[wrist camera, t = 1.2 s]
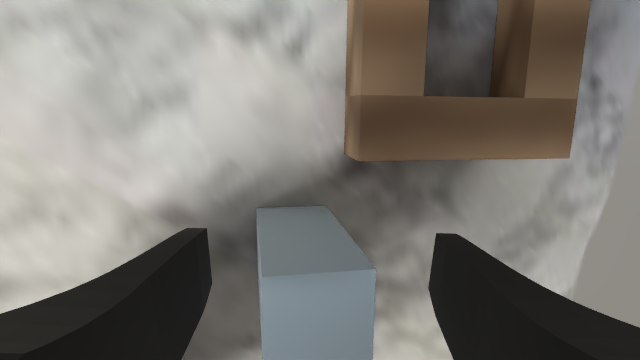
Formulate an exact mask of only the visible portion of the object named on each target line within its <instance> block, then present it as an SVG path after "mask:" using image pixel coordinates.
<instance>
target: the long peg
mask: <svg viewBox="0 0 640 360" xmlns="http://www.w3.org/2000/svg"><path fill="white" fill-rule="evenodd" d="M256 223H257V273H258V291H259V308H260V325H261V342H262V359H263V360H372V359H373V335H374V311H375V288H376V268H375V267H374V266H373V264H372V263H371V262H370V261H369V259H368V258H367V257H366V256H365V254H364V253H363V252H362V250H361V249H360V248H359V247H358V245H357V244H356V243H355V242H354V240H353V239H352V238H351V236H350V235H349V234H348V233H347V231H346V230H345V229H344V228H343V226H342V225H341V224H340V223H339V221H338V220H337V219H336V217H335V216H334V215H333V214H332V212H331V211H330V210H329V209H328V207H327V206H297V207H269V208H256Z"/></svg>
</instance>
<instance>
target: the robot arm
mask: <svg viewBox="0 0 640 360" xmlns="http://www.w3.org/2000/svg"><path fill="white" fill-rule="evenodd" d="M211 285H212V277H211V267H210V257H209V247H208V237H207V228H186V229H184V230H182V231H180V232H178V233H177V234H175V235H173V236H171V237H170V238H168V239H166V240H165V241H163V242H161V243H160V244H158V245H156V246H155V247H153V248H151V249H150V250H148V251H146V252H144V253H143V254H141V255H139V256H138V257H136V258H134V259H132V260H130V261H128V262H127V263H125V264H123V265H121V266H119V267H117V268H115V269H114V270H112V271H110V272H108V273H106V274H104V275H102V276H100V277H98V278H95V279H93V280H91V281H89V282H87V283H84V284H82V285H80V286H77V287H75V288H73V289H70V290H68V291H65V292H63V293H60V294H57V295H54V296H52V297H49V298H46V299H44V300H41V301H38V302H35V303H33V304H30V305H27V306H24V307H21V308H18V309H14V310H11V311H8V312H5V313H2V314H0V360H181V359H182V357H183V355H184V353H185V350H186V348H187V346H188V344H189V342H190V340H191V338H192V336H193V333H194V331H195V329H196V327H197V325H198V323H199V320H200V318H201V316H202V314H203V311H204V309H205V305H206V302H207V299H208V296H209V292H210V289H211ZM429 292H430V296H431V301H432V304H433V308H434V312H435V315H436V318H437V321H438V323H439V326H440V328H441V330H442V333H443V335H444V338H445V340H446V343H447V345H448V347H449V350H450V352H451V354H452V357H453V359H454V360H640V328H639V327H636V326H633V325H631V324H628V323H625V322H622V321H620V320H617V319H614V318H612V317H609V316H607V315H604V314H602V313H599V312H597V311H594V310H592V309H589V308H587V307H585V306H582V305H580V304H578V303H576V302H573V301H571V300H569V299H567V298H565V297H563V296H561V295H559V294H557V293H555V292H553V291H551V290H549V289H547V288H545V287H543V286H541V285H539V284H537V283H535V282H534V281H532V280H530V279H528V278H527V277H525V276H523V275H521V274H520V273H518V272H516V271H515V270H513V269H511V268H510V267H508V266H506V265H505V264H503V263H502V262H500V261H499V260H497V259H495V258H494V257H492V256H491V255H489V254H488V253H486V252H485V251H483V250H482V249H480V248H479V247H477V246H476V245H474V244H473V243H471V242H469V241H468V240H466V239H465V238H463V237H461V236H459V235H457V234H443V233H436V238H435V245H434V252H433V260H432V267H431V274H430V281H429Z"/></svg>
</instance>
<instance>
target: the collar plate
mask: <svg viewBox="0 0 640 360" xmlns="http://www.w3.org/2000/svg"><path fill="white" fill-rule="evenodd" d="M590 2H591V0H498V9H497V20H496V31H495V42H494V53H493V64H492V74H491V85H490V96H489V97H450V96H424V80H425V64H426V47H427V31H428V14H429V0H348V14H347V56H346V98H345V141H344V154H345V155H347V156H349V157H351V158H353V159H355V160H357V161H413V160H482V159H551V158H570V150H571V143H572V136H573V128H574V121H575V113H576V106H577V98H578V91H579V84H580V76H581V69H582V61H583V54H584V46H585V39H586V32H587V24H588V17H589V9H590Z"/></svg>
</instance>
